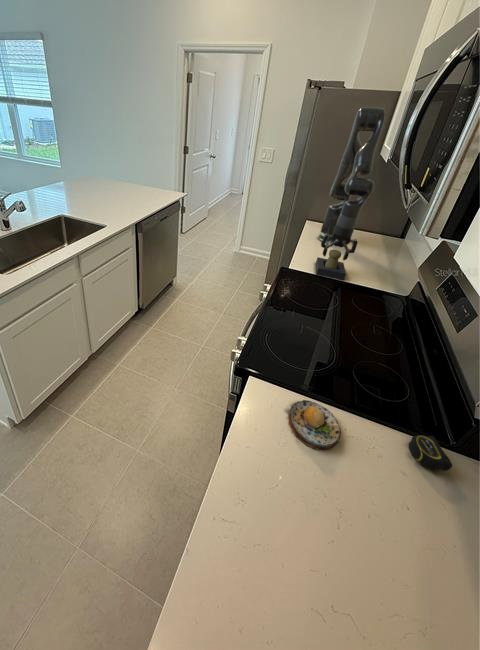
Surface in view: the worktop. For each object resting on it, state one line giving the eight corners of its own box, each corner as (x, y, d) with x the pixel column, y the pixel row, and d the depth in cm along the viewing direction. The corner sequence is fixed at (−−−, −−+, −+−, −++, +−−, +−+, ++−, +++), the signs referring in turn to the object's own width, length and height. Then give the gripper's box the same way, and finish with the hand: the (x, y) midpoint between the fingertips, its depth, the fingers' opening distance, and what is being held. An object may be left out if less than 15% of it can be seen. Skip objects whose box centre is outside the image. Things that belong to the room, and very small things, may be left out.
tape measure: (448, 474, 67) (457, 465, 65) (417, 471, 67) (425, 462, 65) (428, 443, 73) (436, 434, 71) (400, 441, 73) (407, 431, 71)
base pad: (315, 263, 152) (317, 257, 150) (341, 268, 149) (343, 262, 148) (316, 274, 142) (318, 267, 140) (343, 280, 139) (346, 273, 138)
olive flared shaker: (333, 269, 148) (340, 248, 143) (337, 275, 143) (345, 254, 138) (320, 267, 148) (327, 247, 143) (324, 273, 143) (331, 252, 138)
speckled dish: (348, 448, 70) (360, 428, 66) (301, 453, 68) (310, 433, 64) (321, 402, 80) (330, 383, 77) (279, 406, 78) (286, 386, 74)
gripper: (361, 225, 135) (349, 257, 144) (328, 219, 139) (317, 251, 147) (364, 231, 129) (351, 264, 137) (329, 224, 132) (318, 257, 141)
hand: (333, 257), depth 142 cm, fingers open, 8 cm apart
